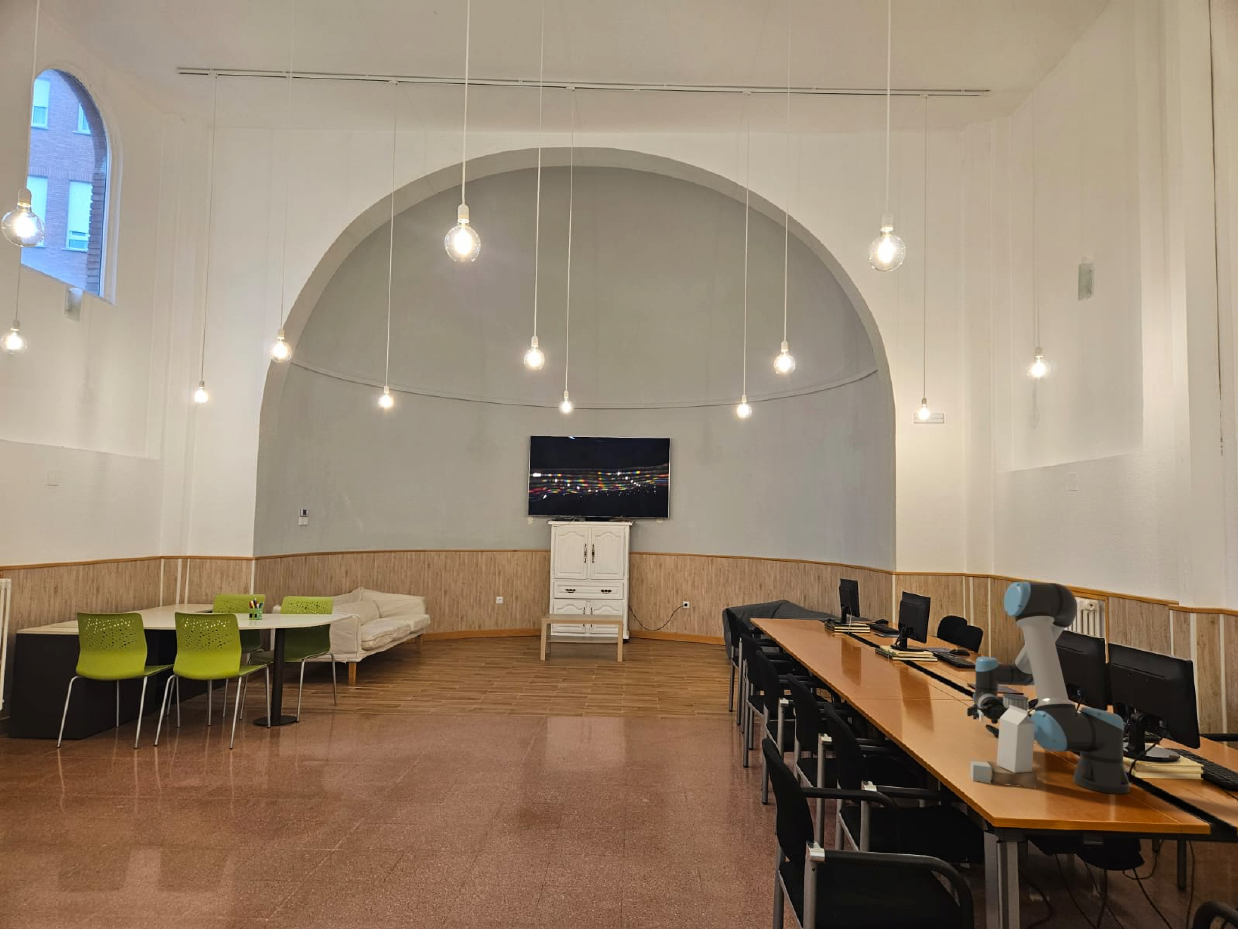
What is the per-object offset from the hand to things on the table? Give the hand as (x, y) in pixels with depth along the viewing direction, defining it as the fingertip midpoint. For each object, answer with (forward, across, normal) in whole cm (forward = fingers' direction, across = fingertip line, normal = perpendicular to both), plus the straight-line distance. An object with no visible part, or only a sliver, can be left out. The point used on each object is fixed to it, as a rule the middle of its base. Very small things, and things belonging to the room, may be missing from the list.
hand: (1004, 720), depth 270 cm
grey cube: (+14, +10, -16) cm, 23 cm away
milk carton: (+10, -1, -13) cm, 16 cm away
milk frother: (-54, -12, -16) cm, 58 cm away
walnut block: (+10, 0, -17) cm, 19 cm away
